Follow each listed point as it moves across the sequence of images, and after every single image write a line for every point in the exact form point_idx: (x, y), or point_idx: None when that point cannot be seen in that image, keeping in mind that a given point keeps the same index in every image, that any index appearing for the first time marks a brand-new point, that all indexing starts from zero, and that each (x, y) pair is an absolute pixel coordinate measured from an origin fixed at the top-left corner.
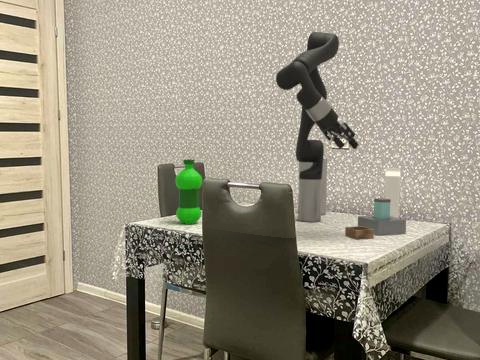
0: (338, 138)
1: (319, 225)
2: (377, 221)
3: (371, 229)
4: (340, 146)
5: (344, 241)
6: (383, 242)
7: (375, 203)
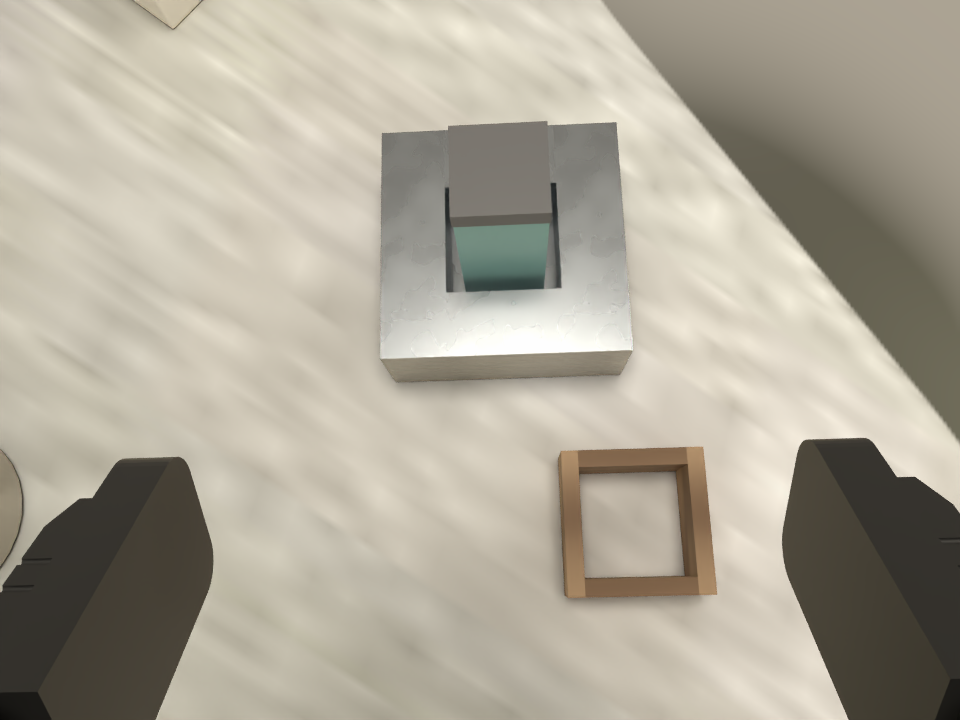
0: (58, 696)
1: None
2: (621, 351)
3: (699, 463)
4: (192, 587)
5: (738, 713)
6: None
7: (472, 232)
